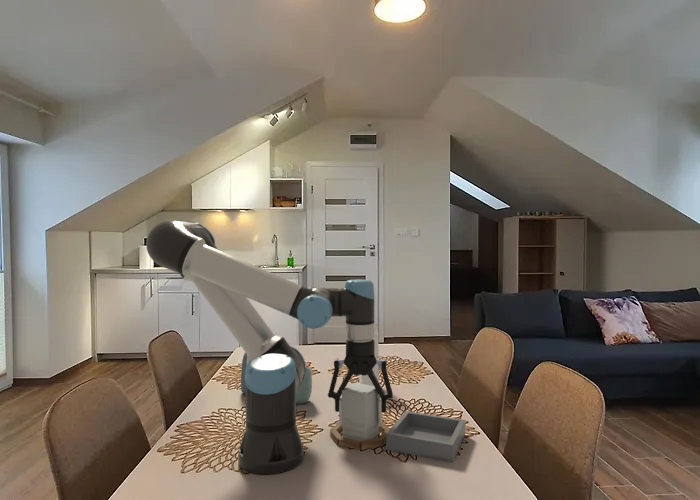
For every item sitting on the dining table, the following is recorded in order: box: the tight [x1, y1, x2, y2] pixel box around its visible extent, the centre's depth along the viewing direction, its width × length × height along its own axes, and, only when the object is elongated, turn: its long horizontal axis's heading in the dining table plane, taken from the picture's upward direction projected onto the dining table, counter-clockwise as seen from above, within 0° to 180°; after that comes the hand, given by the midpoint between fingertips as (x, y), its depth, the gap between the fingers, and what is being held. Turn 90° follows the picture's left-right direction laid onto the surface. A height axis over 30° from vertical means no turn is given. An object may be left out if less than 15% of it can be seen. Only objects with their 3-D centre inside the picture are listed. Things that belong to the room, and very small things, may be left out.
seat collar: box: [329, 421, 391, 450], centre depth 122 cm, size 15×15×2 cm
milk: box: [359, 323, 380, 386], centre depth 161 cm, size 6×6×22 cm
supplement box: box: [341, 382, 380, 441], centre depth 122 cm, size 7×7×13 cm
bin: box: [385, 410, 466, 463], centre depth 118 cm, size 16×16×4 cm
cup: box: [296, 367, 313, 405], centre depth 148 cm, size 8×8×10 cm
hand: (360, 423), depth 122 cm, fingers closed on supplement box, 9 cm apart
